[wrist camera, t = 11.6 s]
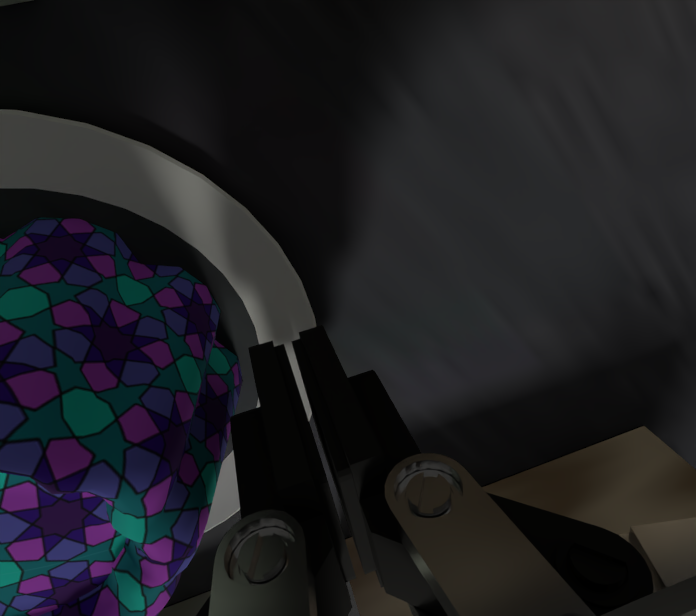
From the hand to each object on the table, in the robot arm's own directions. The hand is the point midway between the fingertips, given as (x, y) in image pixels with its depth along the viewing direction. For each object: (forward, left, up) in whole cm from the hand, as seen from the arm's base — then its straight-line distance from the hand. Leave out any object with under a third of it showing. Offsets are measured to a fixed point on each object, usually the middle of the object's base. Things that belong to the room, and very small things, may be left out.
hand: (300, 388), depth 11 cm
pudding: (+5, -1, -2) cm, 6 cm away
